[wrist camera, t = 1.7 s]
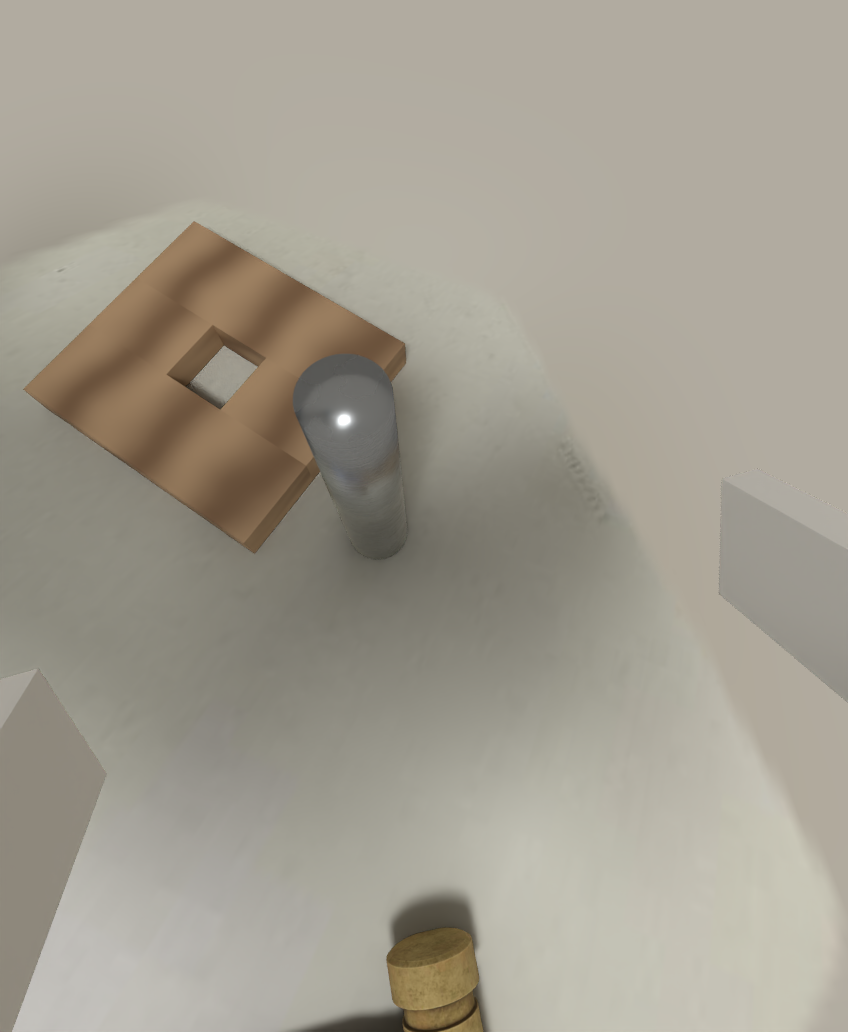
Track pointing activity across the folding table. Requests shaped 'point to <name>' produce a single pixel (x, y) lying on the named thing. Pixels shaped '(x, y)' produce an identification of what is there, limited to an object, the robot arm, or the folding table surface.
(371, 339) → the walnut hole block
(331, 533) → the folding table surface
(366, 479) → the steel peg
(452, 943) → the gavel
